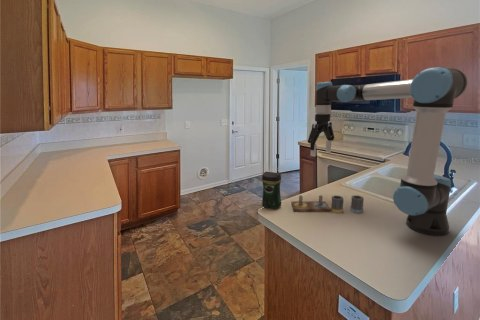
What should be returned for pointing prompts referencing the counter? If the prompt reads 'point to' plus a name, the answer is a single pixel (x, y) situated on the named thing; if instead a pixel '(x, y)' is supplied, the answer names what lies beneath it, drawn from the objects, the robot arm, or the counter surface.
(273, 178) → the coffee jar
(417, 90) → the robot arm
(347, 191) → the counter surface
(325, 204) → the pin board
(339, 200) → the sleeve ochre
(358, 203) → the grey octagonal sleeve
